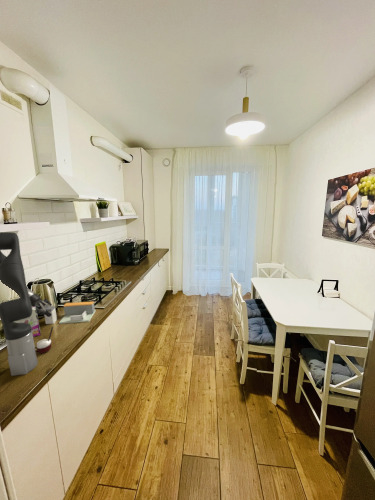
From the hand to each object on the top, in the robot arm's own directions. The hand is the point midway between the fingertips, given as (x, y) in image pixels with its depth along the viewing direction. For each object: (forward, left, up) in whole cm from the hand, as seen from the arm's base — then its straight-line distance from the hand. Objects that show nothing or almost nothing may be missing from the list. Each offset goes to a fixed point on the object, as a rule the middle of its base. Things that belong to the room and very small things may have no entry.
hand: (52, 313), depth 132 cm
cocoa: (-29, -10, -6) cm, 31 cm away
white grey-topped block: (0, +1, -6) cm, 6 cm away
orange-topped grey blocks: (+4, -14, -6) cm, 15 cm away
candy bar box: (-15, +6, -6) cm, 17 cm away
